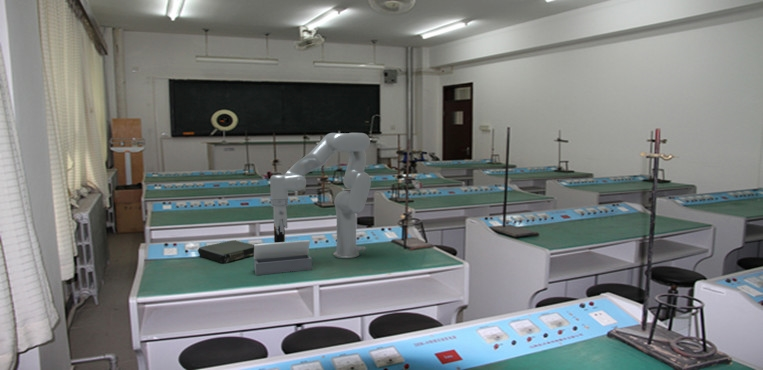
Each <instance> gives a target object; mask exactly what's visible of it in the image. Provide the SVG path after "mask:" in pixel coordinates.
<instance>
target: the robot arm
mask: <svg viewBox="0 0 763 370" xmlns="http://www.w3.org/2000/svg"><path fill="white" fill-rule="evenodd" d="M370 145H371V139H370V137H369V136H368V135H367V134H366V133H364V132H349V133H346V132H344V133H343V132H342V133H341V132H330V133H327V134H326V135H325V136H323V138H322V139H321V140H320V141H319V142H318V143H317V144H316V146H315V147H314V148H313V149H312V150H310V152H309V153H307V154H306V155H305V156H303V157H302V158H301V159H299V160H297V161H296V162H295V163H294V164H293V165H292V166H291V167H290V168H289V169H288V170H287V171H286V172H285V174H272V175H271V176H270V178H269V179H270V180H269V181H270V183H269V184H270V185H269V186H270V187H269V189H270V207H272V208H273V226H275V227H276V233H277V234H276V242H284V227H285V229H288V227H289V226H288V212H287V207H289V191H294V192H299V191H303V190H304V189H305V188H306V185H307V178H305V176H306V175H307V174H309V173H311V172H312V171H314V170H317V169H320V168H322V167H323V166H324V165H325V164H326V163H327V162H328V160H330V158H332V157H333V155H334V154H335V153H336V152H338V153H339V152H341V153H348V163H347V166H346V169H345V172H344V176H343V179H342V182H343V185H344V186H345V188H346V189H349V190H350V191H348V190H342V191H340V192H338V193H337V194H336V196H335V199H334V209H335V213H336V214H335V215H336V251H334V252H333V256H334V257H335V258H339V259H354V258H357V257H359V256H360V251H362V252H363V251H366V250H367V248H366V246H359V245H357V217H356V216H357V215H356V214H359V213H361V212H362V211H363V210H364V209H365V206H366V203H367V199H368V196H369V193H370V189H371V185H372V179H371V177H370V174H368V173H367V172H365V169H366V165H367V153H366V150H368V149H369V147H370Z"/></svg>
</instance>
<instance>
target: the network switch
mask: <svg viewBox="0 0 763 370" xmlns="http://www.w3.org/2000/svg"><path fill="white" fill-rule="evenodd" d="M198 255H199V256H200V257H201V258H205V259H208V260H211V261H214V262H216V263H220V264H226V263H229V262H233V261H237V260H241V259H243V258H247V257H248V258H249V257H251V256H254V244H252V243H248V242H245V241H239V240H236V239H234V240H227V241H223V242H218V243H213V244H207V245H204V246H200V247H199V248H198Z"/></svg>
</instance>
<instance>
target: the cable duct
mask: <svg viewBox="0 0 763 370" xmlns="http://www.w3.org/2000/svg"><path fill="white" fill-rule="evenodd" d="M253 262H254V264H253V265H254V266H253V267H254V273H255V276H261V275H269V274H270V275H272V274H282V272H283V273H290V271H291V272H292V271H293V272H301V271H310V270H313V258H312V257H311V255H309V253H308V255H297V256H286V257H275V258H264V259H254V258H253Z"/></svg>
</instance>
